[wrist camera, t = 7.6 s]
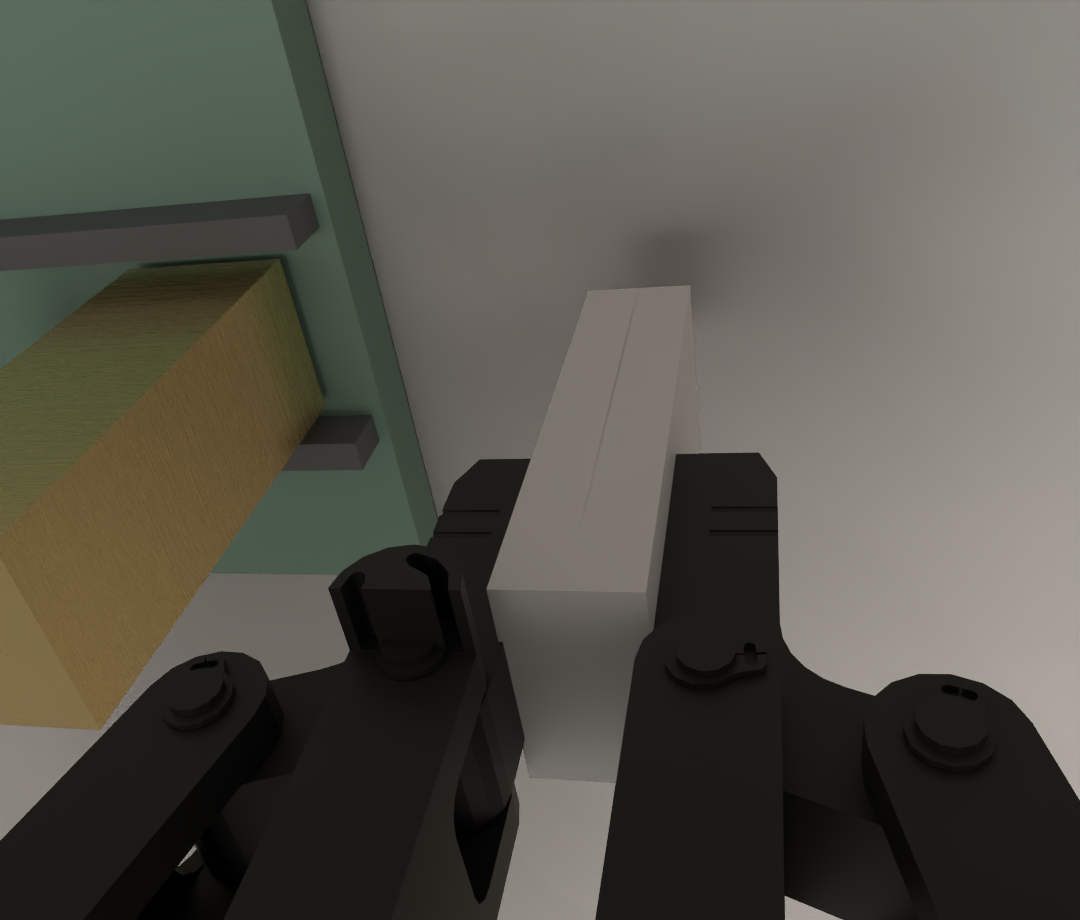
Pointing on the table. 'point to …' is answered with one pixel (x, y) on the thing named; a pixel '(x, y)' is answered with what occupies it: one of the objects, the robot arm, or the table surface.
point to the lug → (136, 471)
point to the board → (210, 229)
